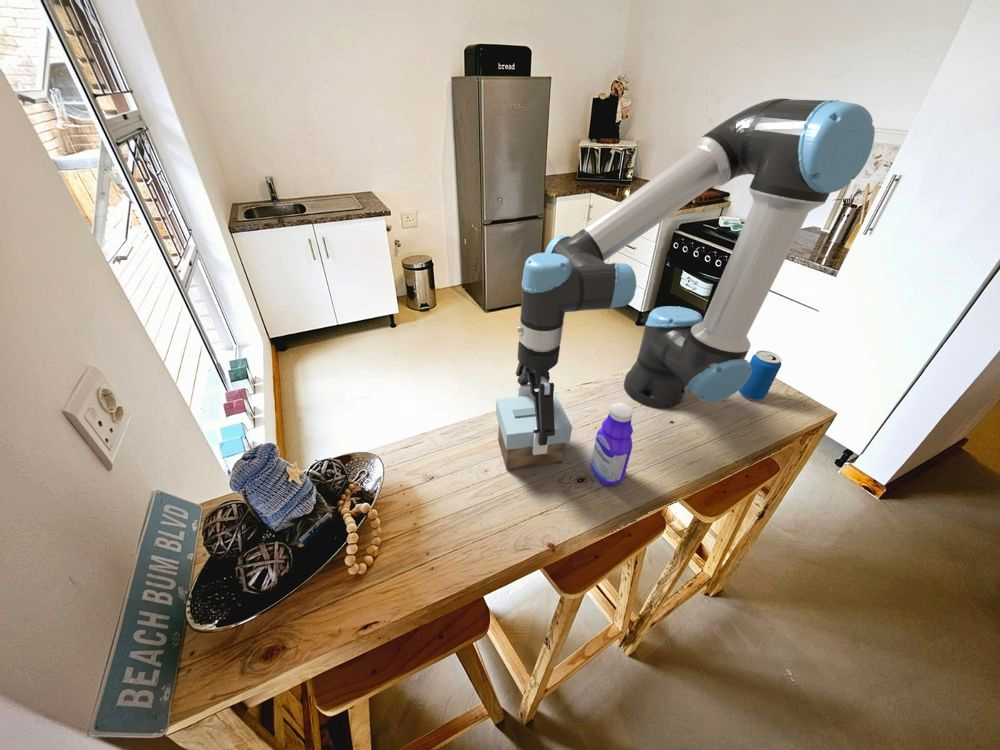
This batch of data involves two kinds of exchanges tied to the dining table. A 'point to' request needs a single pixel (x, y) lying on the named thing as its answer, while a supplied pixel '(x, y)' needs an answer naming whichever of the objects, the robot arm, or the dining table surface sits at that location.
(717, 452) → the dining table surface
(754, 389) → the beverage can
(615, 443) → the bottle
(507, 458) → the crate
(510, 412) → the lid
